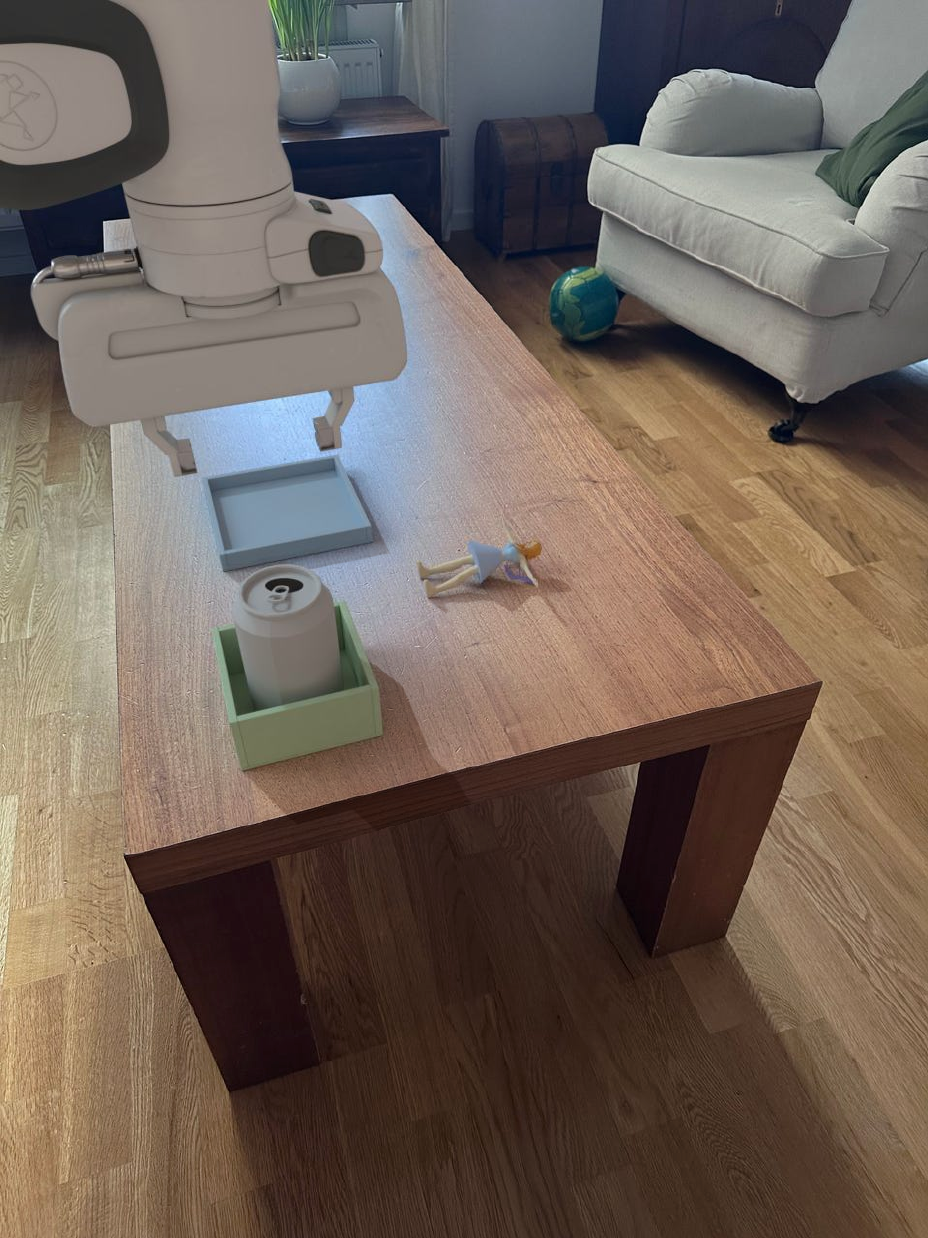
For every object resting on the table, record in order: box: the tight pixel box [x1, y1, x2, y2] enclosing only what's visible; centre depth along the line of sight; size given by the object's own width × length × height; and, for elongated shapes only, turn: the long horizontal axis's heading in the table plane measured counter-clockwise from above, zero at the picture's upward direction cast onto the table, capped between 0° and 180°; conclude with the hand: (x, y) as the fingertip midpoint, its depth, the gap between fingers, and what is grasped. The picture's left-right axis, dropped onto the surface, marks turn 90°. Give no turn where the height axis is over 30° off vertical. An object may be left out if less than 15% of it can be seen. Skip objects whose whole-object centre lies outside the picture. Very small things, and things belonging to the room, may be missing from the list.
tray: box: [201, 454, 374, 572], centre depth 93 cm, size 15×15×2 cm
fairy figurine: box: [416, 516, 543, 598], centre depth 85 cm, size 12×5×12 cm
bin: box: [210, 599, 384, 772], centre depth 71 cm, size 11×11×5 cm
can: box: [231, 563, 344, 712], centre depth 69 cm, size 8×8×12 cm
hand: (258, 458), depth 58 cm, fingers open, 8 cm apart
